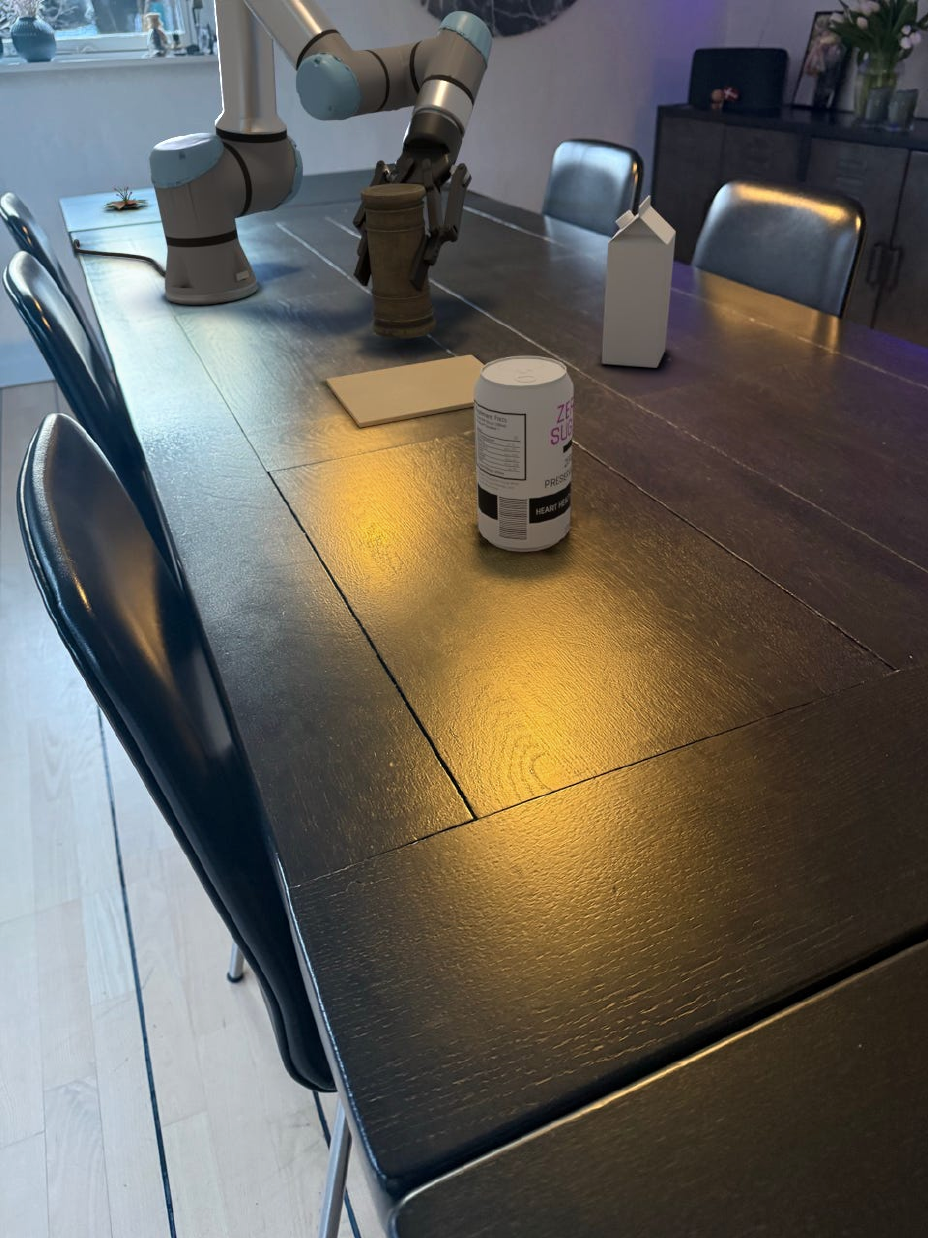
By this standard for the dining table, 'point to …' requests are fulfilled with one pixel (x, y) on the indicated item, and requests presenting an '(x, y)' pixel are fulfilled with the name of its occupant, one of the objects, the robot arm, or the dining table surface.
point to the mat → (408, 390)
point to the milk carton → (638, 289)
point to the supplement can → (523, 451)
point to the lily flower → (124, 201)
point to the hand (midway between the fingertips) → (387, 282)
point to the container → (397, 260)
